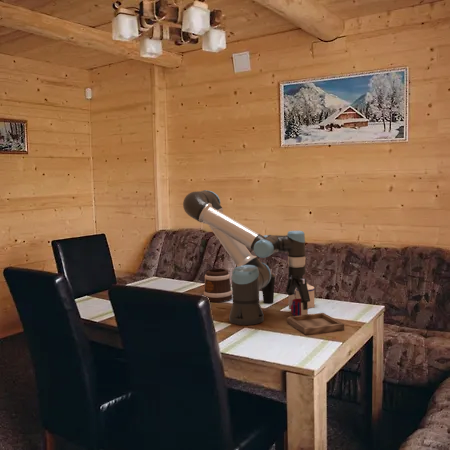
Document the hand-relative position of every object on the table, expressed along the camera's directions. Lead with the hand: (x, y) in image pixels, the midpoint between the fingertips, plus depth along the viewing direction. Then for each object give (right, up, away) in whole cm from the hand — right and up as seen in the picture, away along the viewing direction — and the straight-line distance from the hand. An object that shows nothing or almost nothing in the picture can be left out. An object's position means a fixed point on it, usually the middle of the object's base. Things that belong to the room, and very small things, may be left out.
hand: (297, 312), depth 223 cm
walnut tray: (+5, -3, -16) cm, 17 cm away
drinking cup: (-11, +1, +25) cm, 27 cm away
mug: (-37, +1, +37) cm, 53 cm away
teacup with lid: (+5, 0, +17) cm, 18 cm away
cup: (0, -2, 0) cm, 2 cm away
